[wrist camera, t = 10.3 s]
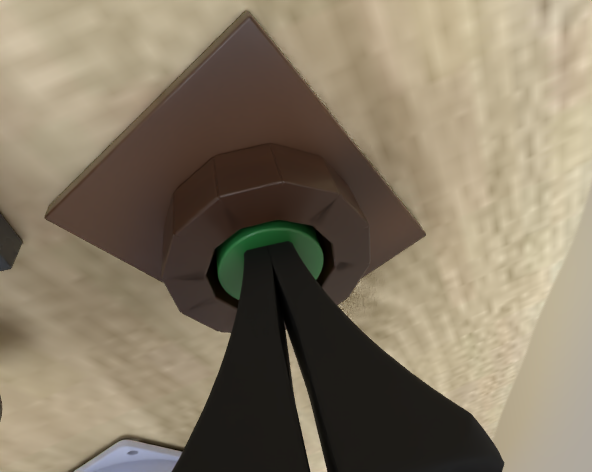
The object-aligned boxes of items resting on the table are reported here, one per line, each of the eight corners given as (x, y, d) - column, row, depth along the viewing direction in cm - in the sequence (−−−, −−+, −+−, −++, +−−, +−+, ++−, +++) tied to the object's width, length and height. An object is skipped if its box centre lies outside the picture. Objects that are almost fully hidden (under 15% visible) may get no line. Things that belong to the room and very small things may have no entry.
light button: (329, 229, 14) (344, 265, 13) (259, 280, 15) (266, 318, 14) (268, 173, 12) (279, 208, 11) (192, 235, 13) (193, 275, 12)
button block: (420, 225, 16) (453, 273, 14) (266, 329, 18) (276, 382, 16) (246, 8, 10) (262, 41, 8) (47, 206, 12) (23, 268, 10)
